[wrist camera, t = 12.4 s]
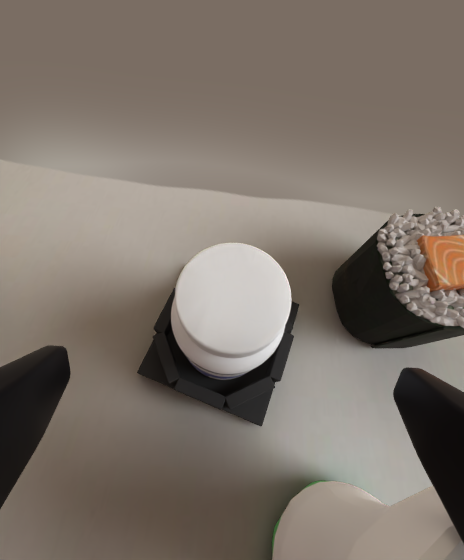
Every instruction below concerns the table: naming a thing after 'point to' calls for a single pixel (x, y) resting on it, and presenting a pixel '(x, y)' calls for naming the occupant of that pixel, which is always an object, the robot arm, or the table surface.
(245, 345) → the pill bottle
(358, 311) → the sushi
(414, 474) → the table surface
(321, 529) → the cup
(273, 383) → the foot pad
